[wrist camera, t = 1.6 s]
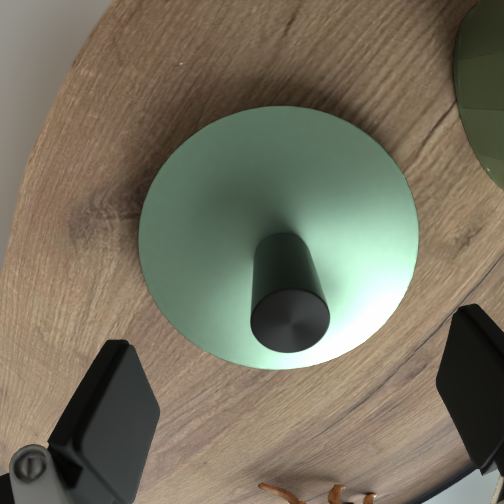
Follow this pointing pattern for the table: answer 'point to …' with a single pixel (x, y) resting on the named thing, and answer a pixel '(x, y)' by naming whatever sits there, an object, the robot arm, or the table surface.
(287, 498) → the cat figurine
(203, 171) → the tin lid
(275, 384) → the table surface
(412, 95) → the table surface
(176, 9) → the table surface
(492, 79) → the tin
